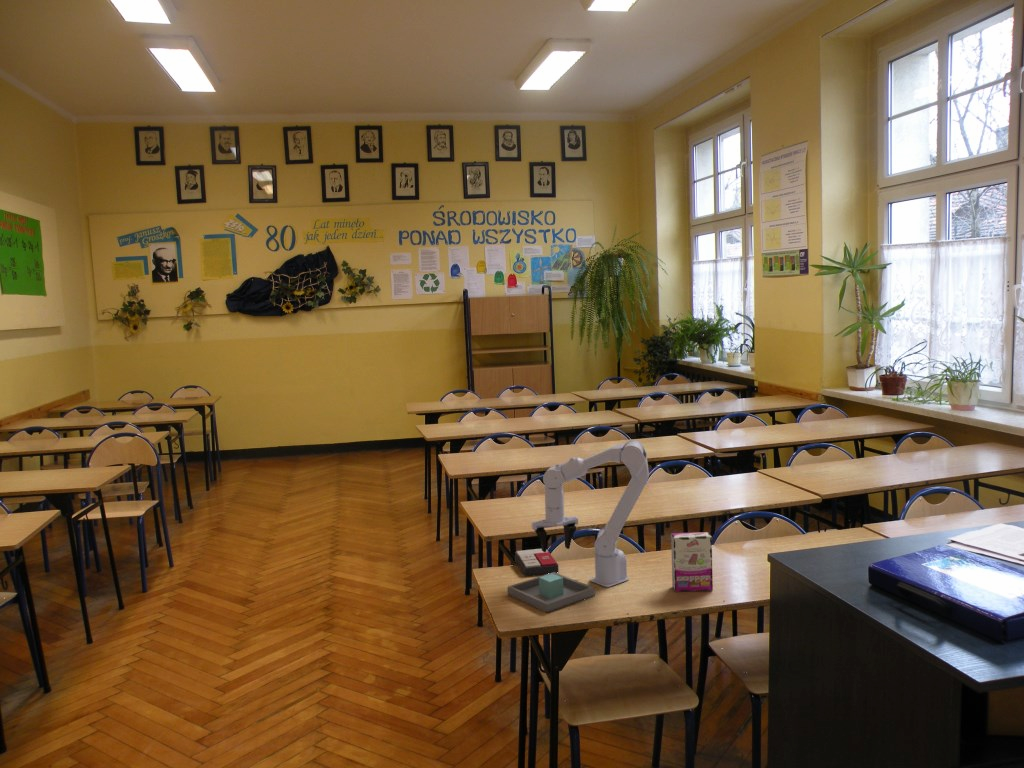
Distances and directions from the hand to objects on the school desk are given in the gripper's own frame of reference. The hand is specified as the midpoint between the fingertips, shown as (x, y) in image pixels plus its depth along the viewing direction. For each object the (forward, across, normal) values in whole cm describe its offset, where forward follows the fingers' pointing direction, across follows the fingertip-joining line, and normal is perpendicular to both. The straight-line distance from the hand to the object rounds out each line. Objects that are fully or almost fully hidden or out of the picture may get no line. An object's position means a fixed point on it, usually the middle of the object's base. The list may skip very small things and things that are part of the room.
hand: (555, 549), depth 236 cm
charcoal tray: (+9, -6, -12) cm, 16 cm away
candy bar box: (+10, +34, -23) cm, 42 cm away
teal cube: (+9, -6, -12) cm, 16 cm away
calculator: (+10, -2, +13) cm, 17 cm away
